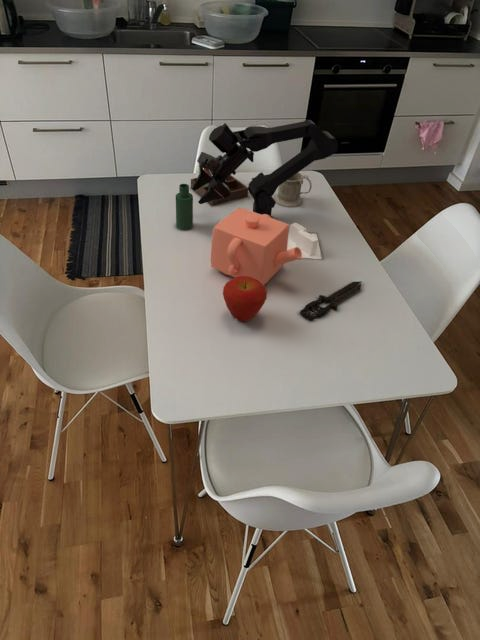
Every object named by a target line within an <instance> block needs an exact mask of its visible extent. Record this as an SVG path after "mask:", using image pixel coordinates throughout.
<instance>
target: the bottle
mask: <svg viewBox="0 0 480 640" xmlns="http://www.w3.org/2000/svg"><path fill="white" fill-rule="evenodd" d="M178 187H179V188H178V192H177V193H176V194H175V225H176V226H175V227H176V228H177V229H178V230H180V231H189V230H191V229H193V227H194V213H193V212H194V195H193V194H192V193H191V192H190V184H188V183H180V184H179V186H178Z"/></svg>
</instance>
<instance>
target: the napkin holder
mask: <svg viewBox="0 0 480 640" xmlns="http://www.w3.org/2000/svg"><path fill="white" fill-rule="evenodd" d="M289 225H290V226H289V231H288V245H287V250H290V249H292V248H295V247H298V248H299V249H300V250H301V252H302V257H301V259H314V260H315V259H316V260H317V259H318V260H322V259H323V257H322V252H321V248H320V243H319V238H318V233H309V232H308V231H306V228H305V227H304V226H302V225H301V224H299V223H298V222H293V223H291V224H289Z"/></svg>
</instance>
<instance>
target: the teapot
mask: <svg viewBox="0 0 480 640" xmlns="http://www.w3.org/2000/svg"><path fill="white" fill-rule="evenodd" d="M271 217H272V215H271V216H269V215H267V214H263V215H261V214H258V213H255V212H253V210H249V209H246V208H242V207H238V208H236V209H235V210H234V211H232V212H231V213H229V214H228V215H227V216H226V217H224V218H223V219H222V220H221V221H219V222H218V223H217V224H216V225H214V227H213V230H212V237H211V246H210V267H211V268H213V269H215V270H217V271H219V272H221V273H222V274H223V275H224V276H225V275H226V276H230V277H233V278H235V277H238V276H248V277H251V278H254V279H256V280H258V281H259V282H261V283H262V284H263V285H264V286H266V284H267V283H268V282H269V281H270V280H271V279H272V277H274V276H275V275H276V273H277V272H278V271H280V269H281V268H282V267H283V266H284V264H287V263H290V262H294V261H297V260H301V259H302V258H301V257H302V252H301V250H300V249H299V248H298V247H295V248H292V249H290V250H287V245H288V232H290V226H289V225H290V224H287V223H285V222H283V221H281V220H278V219H275V218H274V217H273V218H274V219H273V218H271Z"/></svg>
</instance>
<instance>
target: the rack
mask: <svg viewBox="0 0 480 640" xmlns="http://www.w3.org/2000/svg"><path fill="white" fill-rule="evenodd" d="M197 178H198V177H193V178H190V189H191V190H192V187H193V185H194V183H195V181H196V179H197ZM226 181H227V183H226V185H227V186H228V188H229V190H230V196H228V197H227V198H226V199H225V198H224V197H223V199H221V198H220V199H216V200H213V201H209V202H207V203H208V204H209V205H210V206H211V207H214V206H217V205H221V204H226V203H229V202H233V201H237V200H240V199H244V198H248V197H249V191H248V186H247V185H245V184H244V183H242V182H241V181H240V180H238V178H237V177H234V175H233V174H231V175H230V176H229V177H228V178H227V179H226ZM209 183H210V184H211V182H209ZM209 183H207V184H205V185H204V186H202V187H200V188H199V189H197V190H195V191H194V192H195V193H196V194H197V195H198V196H200V198H201V197H202V196H203V195H204V194H205V193H206V191H207V190H208V185H209Z"/></svg>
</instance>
